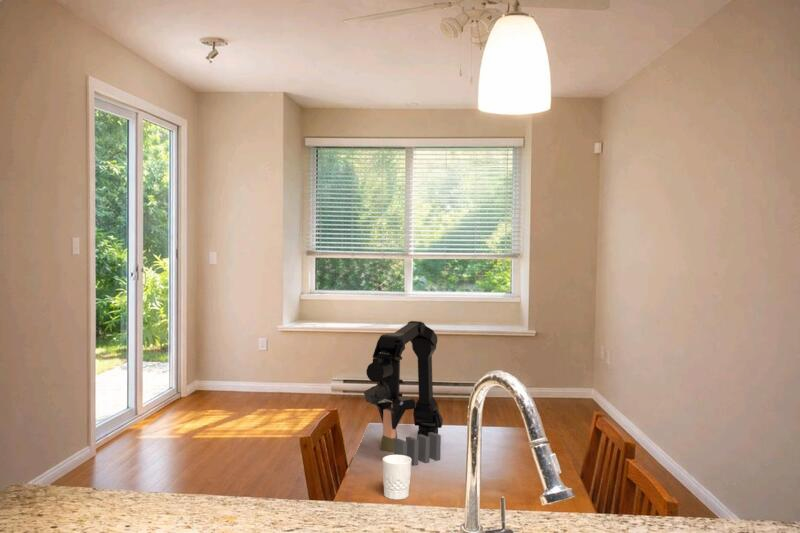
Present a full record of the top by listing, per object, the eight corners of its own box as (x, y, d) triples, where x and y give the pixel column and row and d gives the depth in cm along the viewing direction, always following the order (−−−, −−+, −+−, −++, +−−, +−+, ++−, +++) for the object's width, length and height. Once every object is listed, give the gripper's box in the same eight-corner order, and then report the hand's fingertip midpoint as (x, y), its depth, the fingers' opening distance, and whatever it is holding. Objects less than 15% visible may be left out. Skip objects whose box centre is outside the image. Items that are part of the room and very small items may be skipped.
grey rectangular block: (409, 461, 214) (409, 436, 214) (418, 465, 211) (418, 439, 211) (405, 462, 213) (405, 437, 213) (413, 466, 210) (414, 440, 210)
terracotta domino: (387, 434, 209) (387, 408, 208) (395, 437, 205) (396, 411, 205) (382, 435, 208) (383, 409, 207) (391, 438, 204) (391, 412, 204)
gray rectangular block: (431, 456, 220) (431, 432, 220) (440, 460, 216) (440, 435, 216) (427, 457, 219) (428, 432, 219) (436, 460, 215) (436, 436, 215)
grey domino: (420, 458, 217) (421, 434, 217) (429, 462, 214) (429, 437, 213) (416, 459, 216) (417, 434, 216) (425, 463, 213) (425, 438, 212)
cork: (399, 447, 229) (400, 414, 229) (397, 452, 223) (398, 419, 223) (381, 446, 230) (382, 414, 230) (379, 451, 224) (380, 418, 224)
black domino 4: (398, 463, 212) (398, 438, 211) (406, 467, 208) (407, 441, 208) (393, 464, 211) (394, 439, 211) (402, 468, 207) (402, 442, 207)
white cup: (400, 502, 180) (401, 465, 179) (376, 496, 184) (377, 460, 183) (416, 494, 186) (416, 458, 186) (392, 488, 190) (392, 452, 190)
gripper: (351, 373, 208) (350, 424, 209) (386, 384, 194) (385, 438, 194) (380, 370, 215) (380, 419, 216) (417, 380, 200) (416, 432, 201)
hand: (389, 427), depth 206 cm, fingers closed on terracotta domino, 4 cm apart
